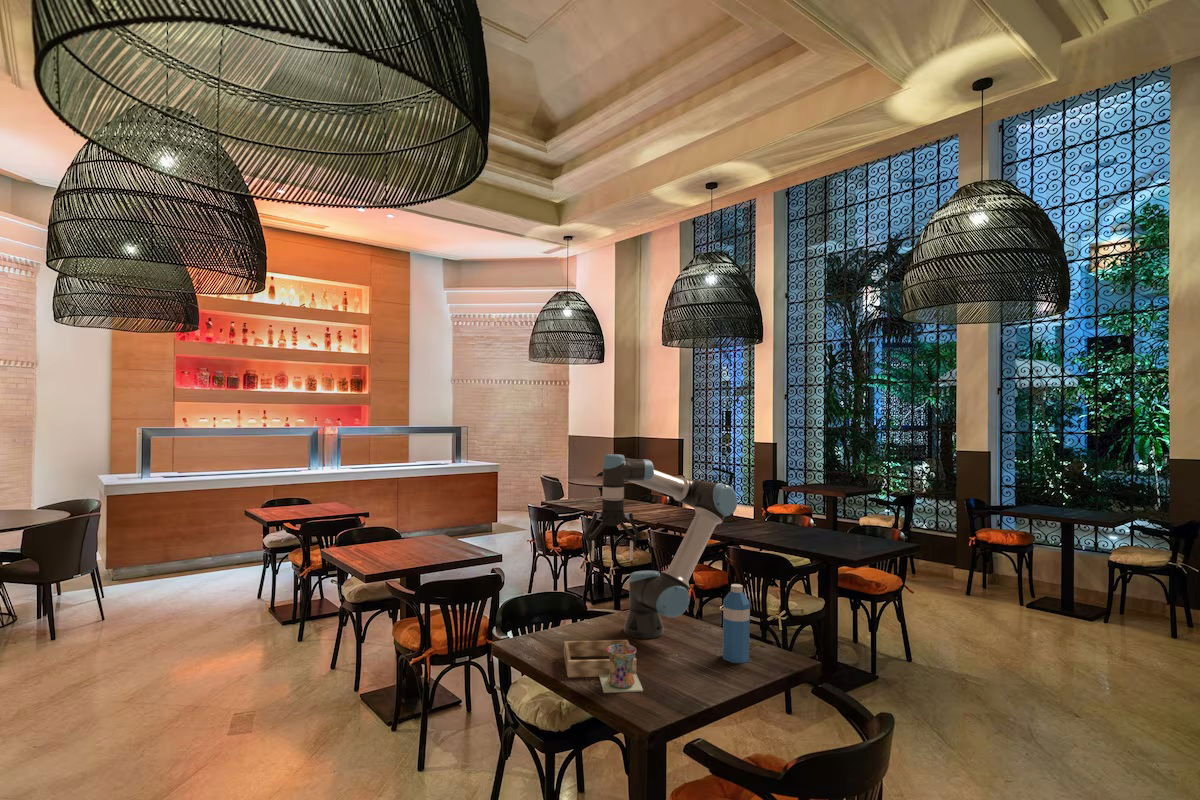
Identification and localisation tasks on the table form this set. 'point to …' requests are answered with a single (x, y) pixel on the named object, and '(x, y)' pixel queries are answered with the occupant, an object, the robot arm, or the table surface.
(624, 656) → the mug
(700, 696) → the table surface
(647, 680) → the table surface
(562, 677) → the table surface
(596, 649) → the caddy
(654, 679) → the table surface
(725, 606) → the water bottle
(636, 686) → the mat
